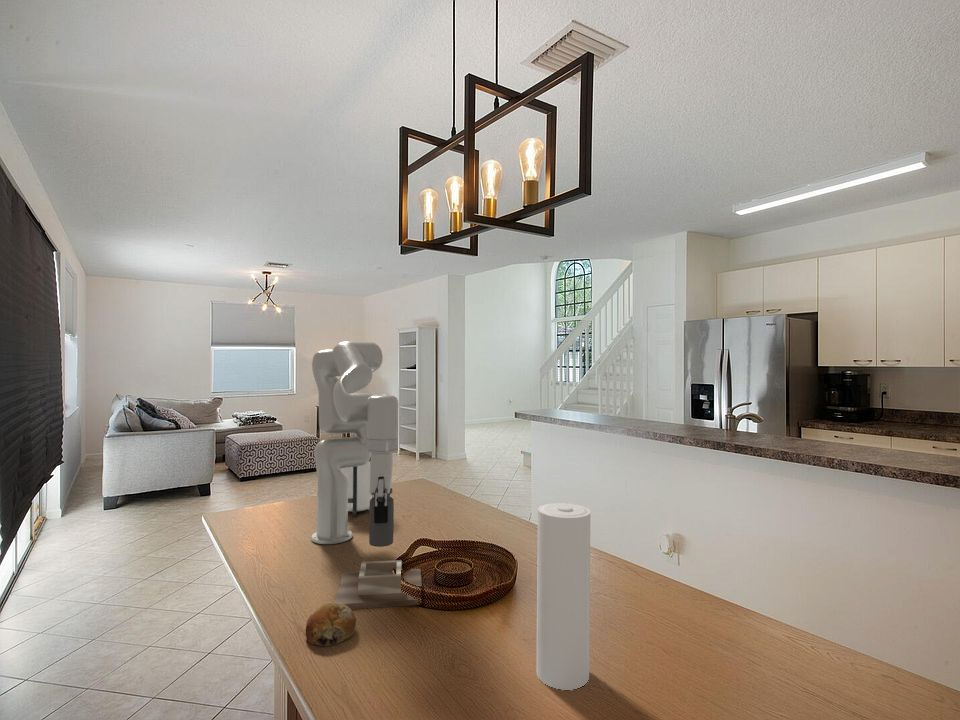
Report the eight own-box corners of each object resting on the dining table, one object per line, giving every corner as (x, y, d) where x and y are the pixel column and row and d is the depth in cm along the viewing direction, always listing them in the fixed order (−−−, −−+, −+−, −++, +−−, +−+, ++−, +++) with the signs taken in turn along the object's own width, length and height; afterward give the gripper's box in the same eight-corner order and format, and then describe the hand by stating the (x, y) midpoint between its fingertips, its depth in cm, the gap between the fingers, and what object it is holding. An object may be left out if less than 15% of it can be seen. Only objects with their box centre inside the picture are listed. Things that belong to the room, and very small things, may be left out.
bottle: (388, 547, 123) (388, 485, 123) (365, 546, 124) (365, 483, 124) (396, 539, 128) (397, 479, 128) (374, 538, 129) (375, 478, 130)
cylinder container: (532, 660, 97) (533, 500, 97) (580, 658, 97) (582, 500, 98) (542, 691, 87) (543, 515, 88) (596, 689, 88) (597, 514, 88)
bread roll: (360, 648, 107) (369, 606, 110) (334, 650, 98) (344, 604, 101) (320, 639, 110) (330, 599, 113) (291, 641, 101) (303, 597, 104)
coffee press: (335, 506, 199) (336, 429, 199) (377, 505, 201) (378, 429, 201) (327, 520, 182) (328, 435, 182) (373, 519, 184) (374, 435, 184)
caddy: (343, 576, 133) (343, 556, 133) (420, 573, 136) (420, 553, 136) (333, 609, 116) (334, 586, 116) (422, 604, 118) (423, 581, 119)
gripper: (369, 440, 134) (368, 509, 134) (364, 451, 117) (363, 530, 117) (398, 440, 135) (397, 508, 135) (397, 450, 118) (396, 529, 118)
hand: (381, 518), depth 126 cm, fingers closed on bottle, 5 cm apart
